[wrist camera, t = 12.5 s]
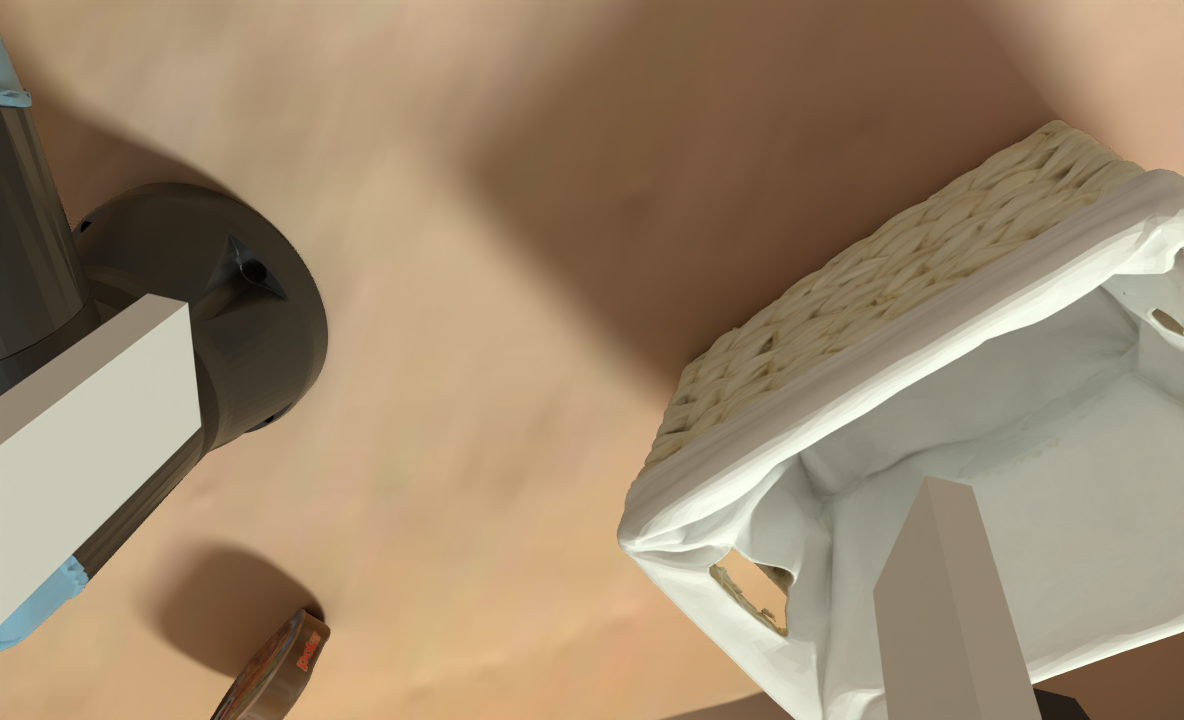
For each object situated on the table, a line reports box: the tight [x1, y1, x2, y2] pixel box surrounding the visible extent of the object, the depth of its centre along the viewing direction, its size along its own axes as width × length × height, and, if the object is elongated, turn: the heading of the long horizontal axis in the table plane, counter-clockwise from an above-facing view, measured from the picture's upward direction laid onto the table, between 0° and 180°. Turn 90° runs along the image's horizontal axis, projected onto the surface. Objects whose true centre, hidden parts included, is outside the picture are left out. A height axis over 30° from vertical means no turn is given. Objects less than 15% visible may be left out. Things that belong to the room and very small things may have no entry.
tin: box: [210, 609, 330, 720], centre depth 63 cm, size 15×3×8 cm, turn 141°
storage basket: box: [617, 120, 1184, 720], centre depth 38 cm, size 24×16×15 cm
